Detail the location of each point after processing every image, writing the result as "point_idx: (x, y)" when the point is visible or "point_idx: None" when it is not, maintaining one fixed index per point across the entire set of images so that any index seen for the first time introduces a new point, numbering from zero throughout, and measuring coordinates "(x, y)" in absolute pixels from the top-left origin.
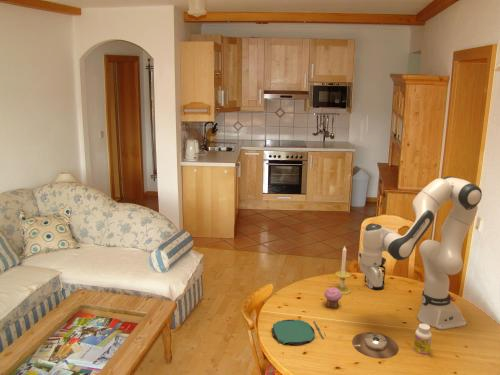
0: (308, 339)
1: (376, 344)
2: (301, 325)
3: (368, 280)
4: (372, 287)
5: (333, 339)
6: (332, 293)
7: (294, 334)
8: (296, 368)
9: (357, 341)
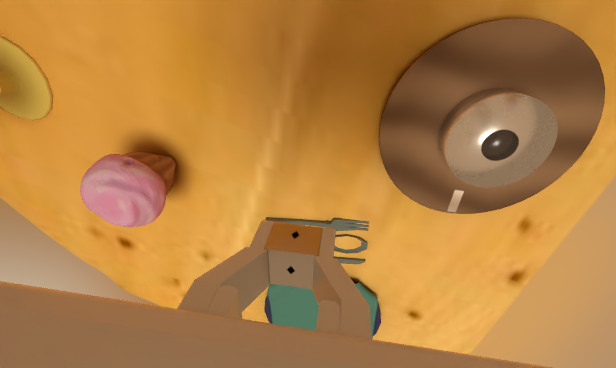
0: (370, 302)
1: (538, 161)
2: (292, 290)
3: (249, 293)
4: (334, 234)
5: (374, 237)
6: (139, 214)
7: None
8: (468, 344)
9: (431, 189)
